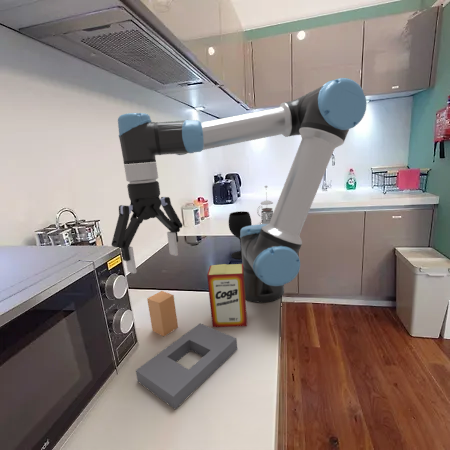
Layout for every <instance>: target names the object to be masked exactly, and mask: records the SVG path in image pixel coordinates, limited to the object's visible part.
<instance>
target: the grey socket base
mask: <svg viewBox="0 0 450 450" xmlns="http://www.w3.org/2000/svg"><path fill="white" fill-rule="evenodd" d="M237 341H238V340H237V337H234V336H233V335H229V334H227V333H225V332H222V331H220V330H217V329H215V328H214V327H210V326H207V325H205V324H203V323H201V322H200V323H198V324H197V325H195V326H193V328H191V329H190V330H189V331H187V332H186V333H185V334H183V335H181V337H179V338H178V339H176V340H175V341H173V342H172V343H171V344H169V345H168V346H166V347H165V348H164V349H163V350H161V351H160V352H159V353H157V354H155V356H153V357H151V358H150V359H149V360H147V361H146V362H145V363H144V364H142V365H140V367H138V368H137V369H135V376H136V379H137V383H138V382H140V383H141V384H142V385H144V386H145V387H146V388H148V389H149V390H150V391H149V390H148V389H147V390H148V391H149V392H151V391H152V392H153V393H154V394H153V393H152V392H151V393H152V394H153V395H155V396H156V395H157V396H158V397H157V396H156V397H157V398H159V399H160V398H161V399H162V400H161V399H160V400H161V401H163V402H164V401H165V402H164V403H166V404H167V403H168V404H169V405H168V404H167V405H168V406H169V407H171V406H172V407H173V408H172V409H174V408H175V409H176V408H177V407H178V406H179V405H180V404H181V403H182V402H183V401H184V400H185V399H186V398H187V397H188V396H189V395H190V394H191V393H192V392H193V391H194V390H195V389H196V388H197V387H198V386H199V387H200V386H201V385H202V384H203V383H205V382H206V381H207V380H208V378H210V377H211V375H212V374H214V373H215V372H216V370H218V369H219V367H221V366H222V365H223V364H224V363H225V362H226V361H227V360H228V359H229V358H230V357H231V356H232V355H233V354H234V353H235V352H236V351H237V350H238V342H237ZM190 351H191V352H193V353H195V354H197V355H199V356H201V358H200V359H199V360H198V361H196V363H194V364H193V365H192V366H191V367H189V368H187V367H186V366H183V365H182V364H180V363H178V361H179V360H181V359H182V358H183V357H184V356H186V355H187V354H188V353H190ZM186 353H187V354H186ZM181 357H182V358H181ZM177 360H178V361H177ZM176 361H177V362H176ZM140 383H139V384H140ZM141 384H140V385H141ZM142 385H141V386H142ZM144 386H143V387H144ZM145 387H144V388H145ZM199 387H198V388H199ZM146 388H145V389H146ZM198 388H197V389H198ZM197 389H196V390H197ZM196 390H195V391H196ZM195 391H194V392H195ZM194 392H193V393H194ZM193 393H192V394H193ZM192 394H191V395H192ZM191 395H190V396H191ZM190 396H189V397H190ZM189 397H188V398H189ZM188 398H187V399H188ZM187 399H186V400H187ZM186 400H185V401H186ZM185 401H184V402H185ZM184 402H183V403H184ZM183 403H182V404H183ZM182 404H181V405H182ZM181 405H180V406H181ZM180 406H179V407H180ZM179 407H178V408H179ZM178 408H177V409H178ZM175 409H174V410H175ZM177 409H176V410H177Z"/></svg>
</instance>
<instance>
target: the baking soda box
mask: <svg viewBox="0 0 450 450" xmlns="http://www.w3.org/2000/svg"><path fill="white" fill-rule="evenodd" d="M206 278H207V285H208V286H207V287H208V288H207V289H208V296H209V297H208V298H209V305H210V315H211V325H212V326H211V327H212V328H229V327H231V328H233V327H236V328H237V327H247V326H248V321H247V320H248V317H247V316H248V314H247V302H246V301H247V300H246V298H245V284H244V270H243V264H242V263H238V264H237V263H236V264H235V263H234V264H233V263H232V264H231V263H230V264H226V263H223V264H222V263H221V264H214V265H213V264H211V265H209V267H208V271H207V275H206Z"/></svg>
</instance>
